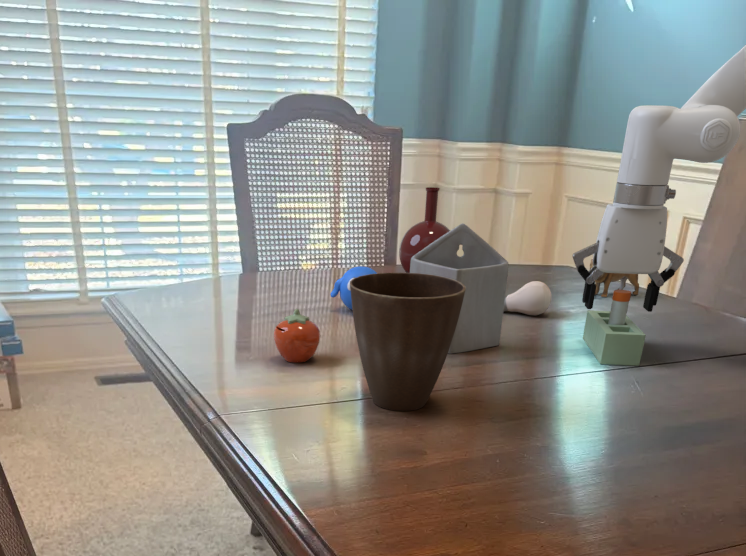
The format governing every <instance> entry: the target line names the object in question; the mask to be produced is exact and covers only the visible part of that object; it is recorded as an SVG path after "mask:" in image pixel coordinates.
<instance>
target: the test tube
mask: <svg viewBox="0 0 746 556" xmlns="http://www.w3.org/2000/svg"><path fill="white" fill-rule="evenodd" d="M631 298H632V291H631V290H627V289H623V290H617V289H614V290H613V292H612V298H611V299H612V301H611V307H610V310H609V311H610V316H609V322H608V324H614V325H624V324H625V319H626V315H627V314H628V309H629V305H630V304H629V303H630V301H631Z"/></svg>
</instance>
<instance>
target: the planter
mask: <svg viewBox="0 0 746 556" xmlns="http://www.w3.org/2000/svg"><path fill="white" fill-rule="evenodd" d="M460 246H462V247H461V250H462V252H463V255H461V256H459V255H458V251H459V250H460ZM509 268H510V267H509V261H508V260H507V259H506V258H505V257H504V256H503V255H502V254H500V253H499V252H498V250H496V249H495V248H494V247H493V246H492V245H490V244H489V243H488V242H487V241H486V240H484V238H482V237H481V236H480V235H479V234H478V233H477V232H475V230H473V229H472V228H470V227H469V226H468V225H467V224H466V223H460V224H458V225H457V226H455V227H453V228H452V229H450V231H449V232H448V233H446V234H445V235H443V236H442V237H440V238H439V239H437V240H436V241H434V242H433V243H431V244H430V245H428V246H427V247H425V248H424V249H423V250H421V251H420V252H418V253H417V254H415V255H414V256H413V257H412V258H411V264H410V273H420V274H429V275H436V276H441V277H446V278H450V279H453V280H456V281H459V282H461V283H463V284H464V285H465V287H466V290H465V294H464V299H463V303H462V307H461V311H460V315H459V319H458V323H457V326H456V330H455V333H454V336H453V339H452V342H451V345H450V348H449V351H448V354H447V355H454V354H459V353H460V354H461V353H466V352H472V351H478V350H483V349H487V348H493V347H497V346H499V345H500V343H501V342H500V341H501V334H502V333H501V332H502V325H503V319H504V318H503V316H504V312H503V309H504V301H505V297H506V293H507V285H508V278H509V277H508V276H509Z"/></svg>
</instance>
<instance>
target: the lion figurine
mask: <svg viewBox="0 0 746 556" xmlns="http://www.w3.org/2000/svg"><path fill="white" fill-rule="evenodd" d="M593 266H594V265H593V258H591V259H590V263H589V270H590V269H591V268H592V267H593ZM619 281H620V286H619V288H617V289H616V290H624V289H625V288H626V283H627V281H629V283H630V284H631V285H632V286H633V289H634V291H633V290H632V291H631V295H633V296H637V295H639V291H640V284H639V274H624V273H606V272H604V273H603V274H602V275H601V276H599V277H598V278H597V279H596V280H595V284H596V291H595V296H597V295H599V293H600V290H601V284H603V290H602V293H601V295H600V296H601V298H607V297H608V295H609V288H610V284H611V283H616V282H619Z"/></svg>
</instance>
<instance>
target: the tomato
mask: <svg viewBox="0 0 746 556" xmlns="http://www.w3.org/2000/svg"><path fill="white" fill-rule="evenodd" d="M273 341H274V344H275V348H276V349H277V351H278V352H279V354H280V356H281V357H282V358H283V359H284V360H285V361H286V362H287V363H294V364H296V363H297V364H299V363H305V362H307V361H309V360H310V359H311V358H312V357H313V356H314V355H315V353H316V352H317V350H318V347H319V344H320V342H321V331H320V328H319V326H318V325H317V324H316V323H315V322H313V321H311V320H310V317H309V316H306V315H304V314H301V312H300V309H298V308H296V309H294V310H293V314H289V315H287V316H285V317H284V318H283V320H282V321H280V322H278V323H277V325H276V326H275V327H274V330H273Z"/></svg>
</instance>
